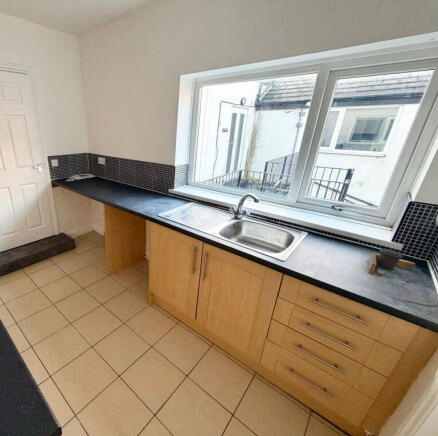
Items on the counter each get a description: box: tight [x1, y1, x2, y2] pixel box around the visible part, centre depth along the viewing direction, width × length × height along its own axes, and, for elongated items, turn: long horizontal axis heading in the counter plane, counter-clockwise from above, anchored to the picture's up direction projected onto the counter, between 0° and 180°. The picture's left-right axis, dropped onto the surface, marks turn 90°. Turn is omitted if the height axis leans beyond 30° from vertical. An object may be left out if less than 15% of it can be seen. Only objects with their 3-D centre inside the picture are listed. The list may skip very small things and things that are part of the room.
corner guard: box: [367, 252, 416, 275], centre depth 115 cm, size 16×14×5 cm
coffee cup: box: [376, 248, 404, 271], centre depth 116 cm, size 8×8×10 cm
